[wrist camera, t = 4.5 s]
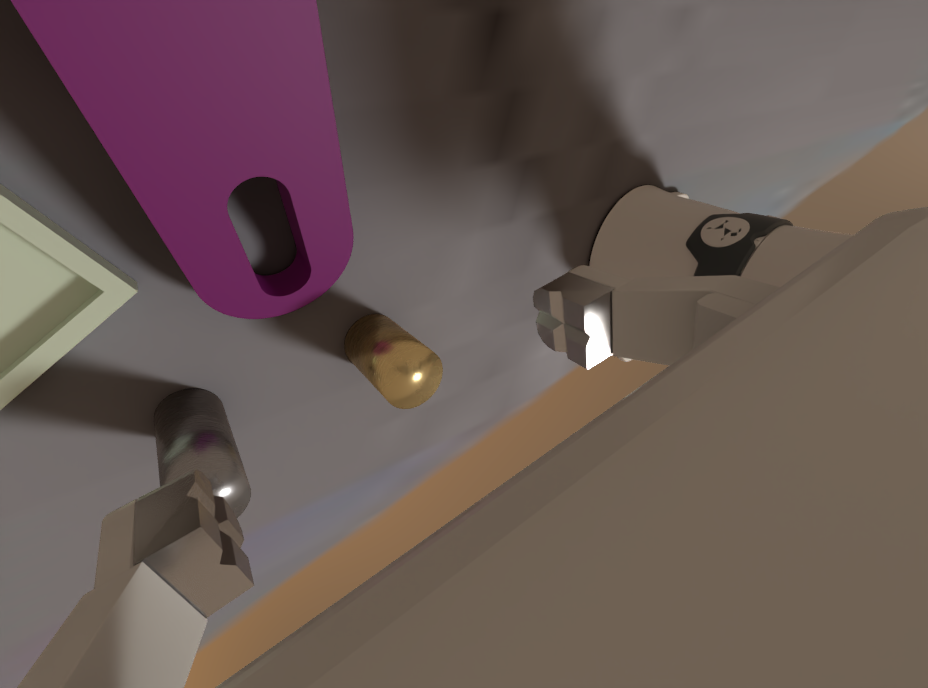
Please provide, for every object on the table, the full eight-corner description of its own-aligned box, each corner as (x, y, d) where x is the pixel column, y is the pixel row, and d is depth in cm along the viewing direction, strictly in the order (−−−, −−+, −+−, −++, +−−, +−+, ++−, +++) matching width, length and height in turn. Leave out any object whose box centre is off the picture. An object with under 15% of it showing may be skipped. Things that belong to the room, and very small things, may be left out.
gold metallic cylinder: (407, 337, 37) (453, 373, 32) (368, 377, 37) (408, 420, 32) (375, 302, 34) (420, 335, 29) (332, 344, 34) (370, 385, 29)
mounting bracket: (307, 212, 35) (225, -109, 20) (360, 281, 31) (309, -47, 16) (180, 258, 31) (-36, -97, 16) (225, 341, 28) (2, -13, 13)
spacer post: (237, 408, 31) (267, 488, 25) (192, 450, 31) (210, 544, 24) (188, 377, 29) (207, 458, 22) (138, 422, 28) (142, 519, 21)
